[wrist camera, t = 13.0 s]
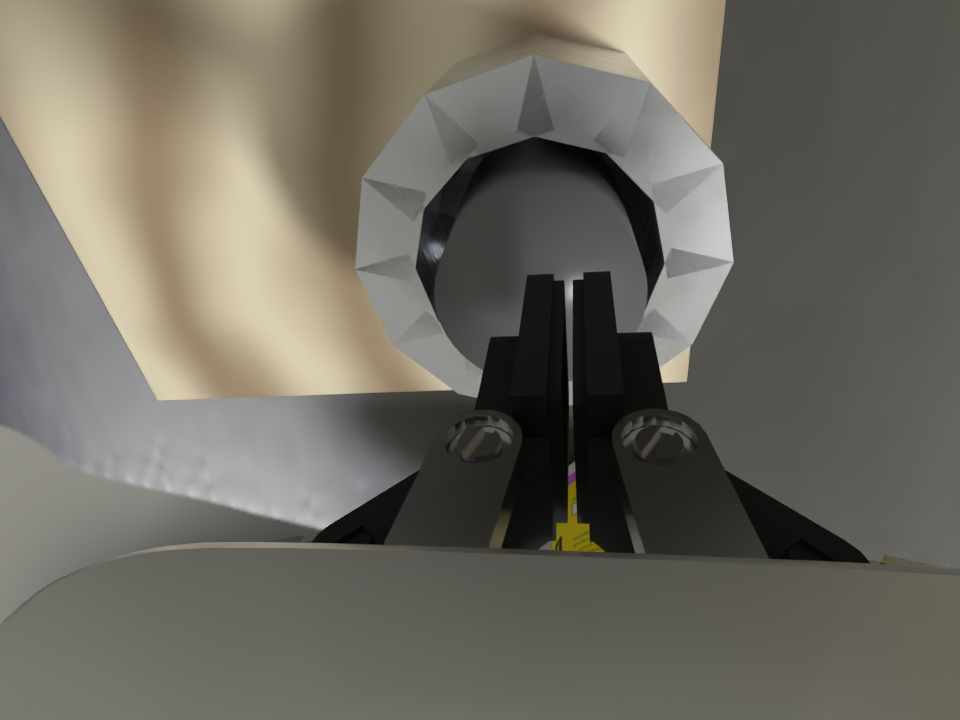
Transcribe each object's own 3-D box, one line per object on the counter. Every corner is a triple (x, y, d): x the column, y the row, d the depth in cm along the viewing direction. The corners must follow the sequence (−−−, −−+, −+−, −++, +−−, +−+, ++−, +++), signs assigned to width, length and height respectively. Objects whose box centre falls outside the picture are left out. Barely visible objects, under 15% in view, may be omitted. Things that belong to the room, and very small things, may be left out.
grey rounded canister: (540, 93, 17) (537, 145, 12) (654, 210, 19) (693, 299, 14) (432, 216, 19) (392, 302, 15) (541, 310, 21) (539, 415, 16)
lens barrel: (537, -47, 16) (532, -50, 12) (754, 196, 19) (809, 260, 15) (342, 209, 21) (291, 270, 17) (541, 369, 24) (539, 453, 20)
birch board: (725, -117, 16) (738, -123, 15) (681, 364, 24) (686, 381, 23) (-30, 3, 19) (-62, 5, 18) (171, 384, 28) (158, 400, 27)
